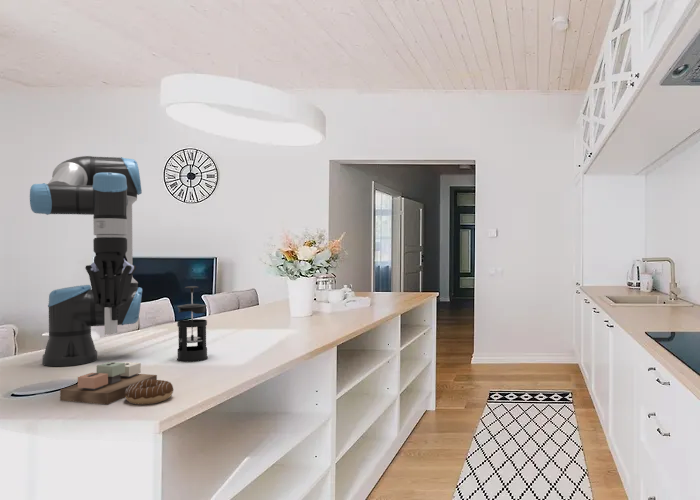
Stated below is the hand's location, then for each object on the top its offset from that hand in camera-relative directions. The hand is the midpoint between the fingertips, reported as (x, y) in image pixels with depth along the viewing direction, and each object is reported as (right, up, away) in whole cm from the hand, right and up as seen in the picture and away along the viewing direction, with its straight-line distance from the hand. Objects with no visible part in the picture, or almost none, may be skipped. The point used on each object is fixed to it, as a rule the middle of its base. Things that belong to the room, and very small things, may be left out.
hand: (111, 333), depth 131 cm
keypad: (0, -14, 0) cm, 14 cm away
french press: (+9, -14, +39) cm, 43 cm away
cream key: (+2, -11, +6) cm, 13 cm away
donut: (+12, -15, -6) cm, 20 cm away
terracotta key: (-2, -11, -6) cm, 13 cm away
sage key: (0, -10, 0) cm, 10 cm away
